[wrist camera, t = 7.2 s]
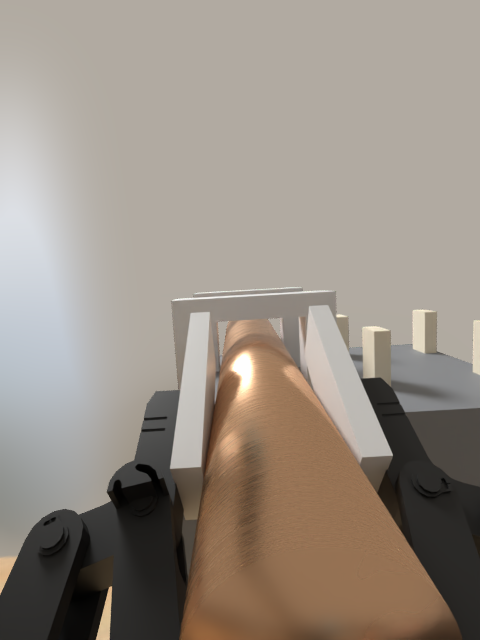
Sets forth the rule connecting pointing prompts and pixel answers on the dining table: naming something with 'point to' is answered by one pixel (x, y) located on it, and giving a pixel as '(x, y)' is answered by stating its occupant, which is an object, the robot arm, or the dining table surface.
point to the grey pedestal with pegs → (363, 370)
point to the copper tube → (295, 520)
